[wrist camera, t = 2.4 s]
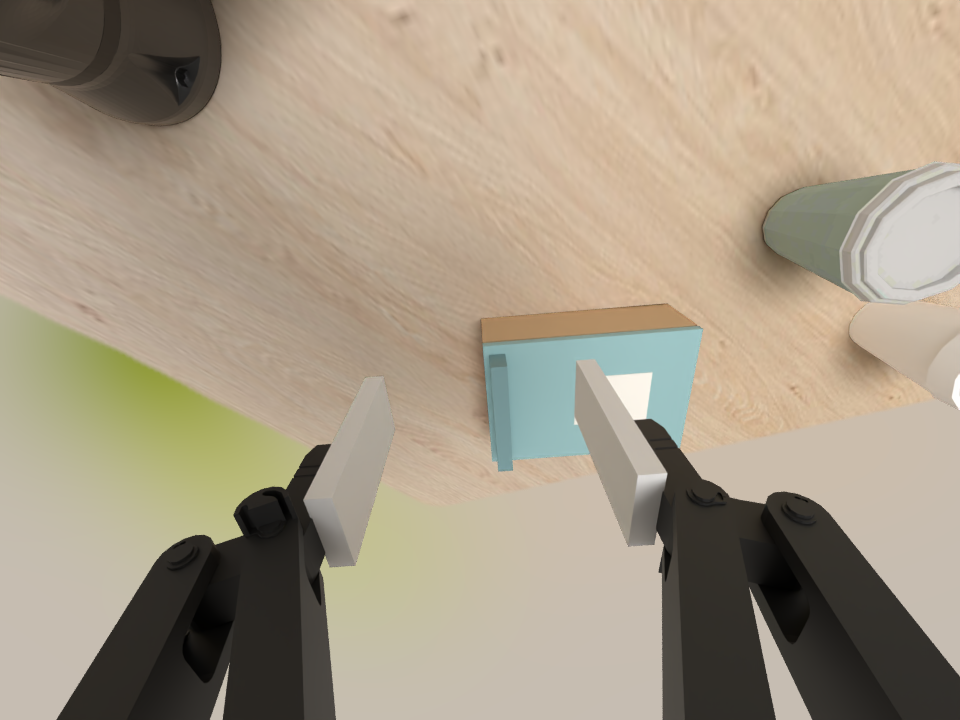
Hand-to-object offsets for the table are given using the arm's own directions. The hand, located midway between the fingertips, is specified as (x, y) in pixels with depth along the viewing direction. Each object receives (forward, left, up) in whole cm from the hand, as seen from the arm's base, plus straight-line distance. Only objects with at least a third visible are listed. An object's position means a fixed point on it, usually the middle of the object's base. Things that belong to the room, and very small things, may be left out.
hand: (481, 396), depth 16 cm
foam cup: (+48, -12, -29) cm, 58 cm away
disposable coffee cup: (+34, +1, -29) cm, 45 cm away
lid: (+11, -15, -22) cm, 29 cm away
